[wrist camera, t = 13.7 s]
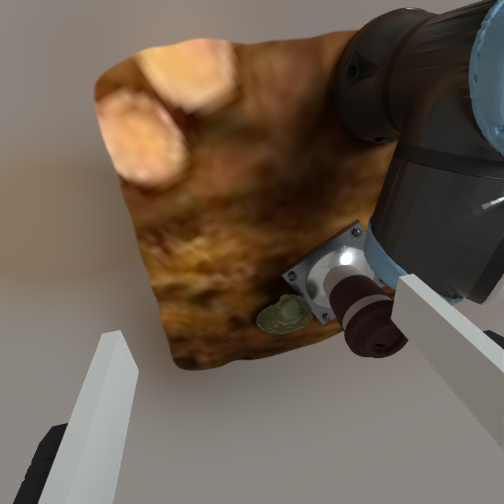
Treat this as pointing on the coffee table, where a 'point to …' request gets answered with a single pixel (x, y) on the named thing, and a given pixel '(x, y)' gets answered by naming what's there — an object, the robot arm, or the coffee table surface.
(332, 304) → the coffee cup
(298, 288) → the duct flange
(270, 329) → the seashell
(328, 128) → the coffee table surface
